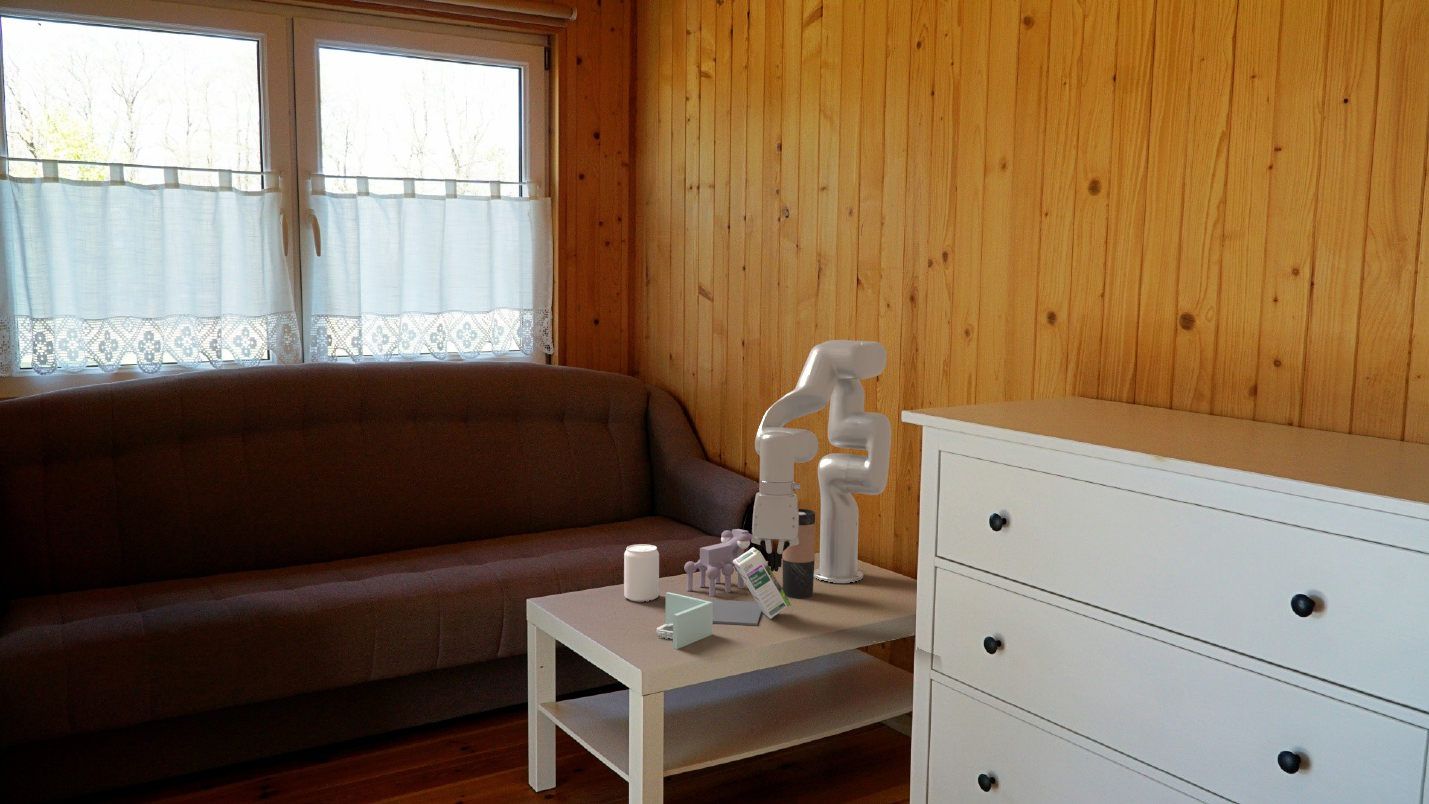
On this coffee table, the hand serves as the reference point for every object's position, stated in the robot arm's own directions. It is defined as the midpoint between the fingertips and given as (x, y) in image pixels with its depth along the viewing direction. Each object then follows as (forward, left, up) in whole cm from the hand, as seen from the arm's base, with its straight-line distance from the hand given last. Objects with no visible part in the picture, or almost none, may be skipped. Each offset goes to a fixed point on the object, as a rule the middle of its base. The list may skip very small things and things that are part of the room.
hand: (774, 569), depth 238 cm
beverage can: (-8, -32, -11) cm, 35 cm away
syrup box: (0, +1, -9) cm, 9 cm away
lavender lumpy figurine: (-22, -14, -11) cm, 28 cm away
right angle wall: (+17, -20, -11) cm, 29 cm away
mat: (0, -13, -11) cm, 17 cm away
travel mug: (-18, +4, -11) cm, 22 cm away
